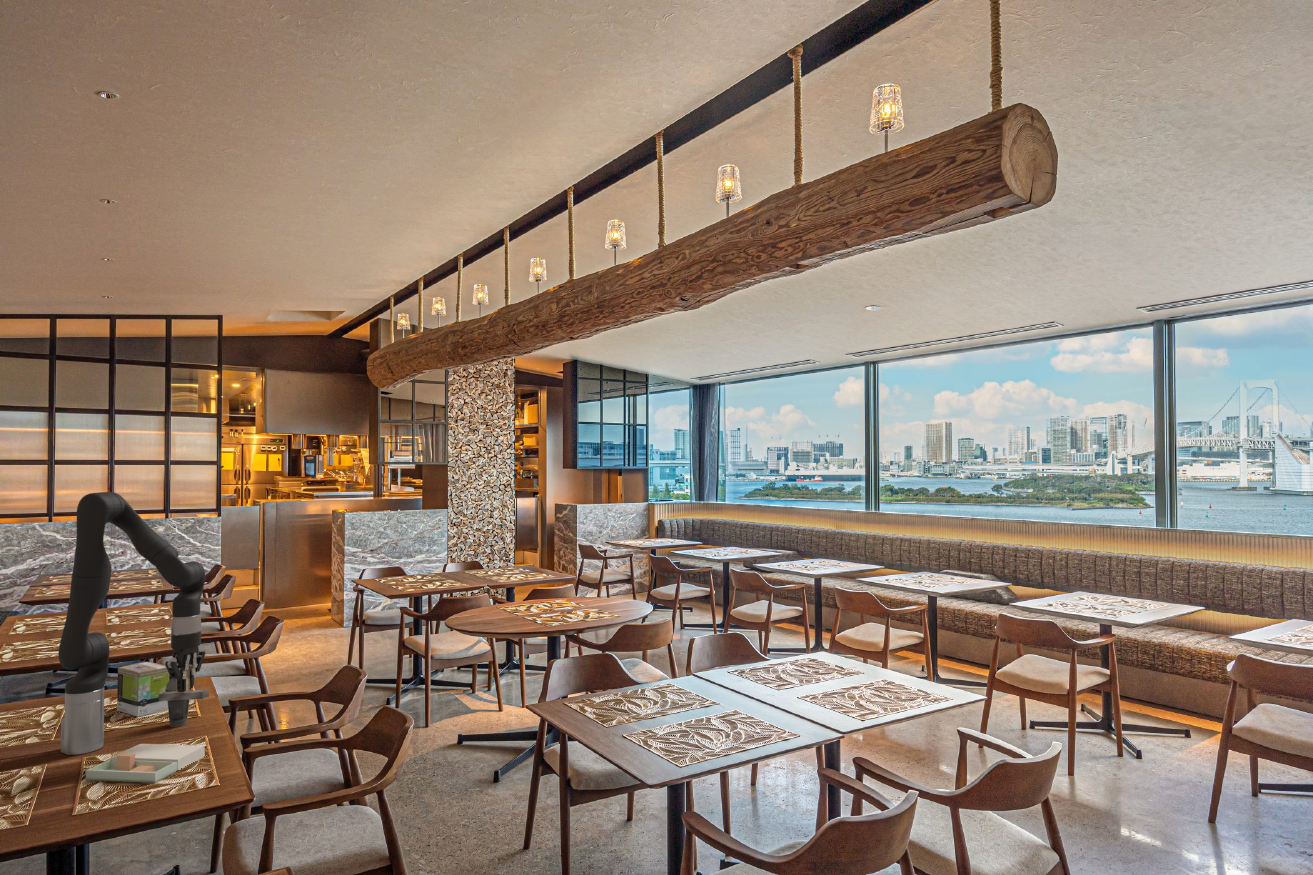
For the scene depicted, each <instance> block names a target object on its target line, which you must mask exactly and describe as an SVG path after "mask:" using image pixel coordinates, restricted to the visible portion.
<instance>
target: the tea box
mask: <svg viewBox="0 0 1313 875" xmlns="http://www.w3.org/2000/svg"><path fill="white" fill-rule="evenodd" d="M169 680H170V675H169V672H168V670H167V668H166V666H165V665H164V664H160V663H155V662H150V661H144V662H139V663H135V664H130V665H129V664H128V665H125V666H120V667H118V668H117V688H116V691H117V692H116V693H117V696H116V697H117V698H116V710H117V711H118V712H122V713H125V714H129V715H131V716H133V717H137V718H138V717H139V718H140V717H143V716H148V715H151V714H155V713H156V714H157V713H159V712H163V711H167V710H168V701H159V694H161V693H163V692H166V691H165V690H166V686H167V683H168V682H169Z"/></svg>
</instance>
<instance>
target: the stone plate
mask: <svg viewBox="0 0 1313 875" xmlns="http://www.w3.org/2000/svg"><path fill="white" fill-rule="evenodd" d="M205 751H206V748H205V745H194V744H193V745H192V744H191V745H187V744H160V743H140V744H137V745H134V746H132V747H130V748H128V749H126V750H124V751H122V752H120V753H117V754H114V755H112V756H110V759H116V756H117V755H119V754H122V753H128V754H135V760H145V761H172V762H177V770H179V771H180V770H182V769H184V768H186V767H188V766H190V765H191V763H192V764H193V762H194V763H196V762H197V761H199V760H201V759H203V758H205V753H206V752H205ZM195 761H196V762H195ZM189 764H190V765H189ZM187 765H188V766H187ZM185 766H186V767H185ZM181 768H182V769H181Z"/></svg>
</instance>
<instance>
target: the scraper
mask: <svg viewBox="0 0 1313 875" xmlns="http://www.w3.org/2000/svg"><path fill="white" fill-rule="evenodd" d="M180 668H184V667H180ZM180 673H181V675H182V671H180ZM185 679H186V691H185V692H178V690H177V679H176V691H170V692H163V693H161V694H159V701H172V700H189V701H190V700H191V701H192V700H203V699H206V698H209V694H210V693H209V689H196V690H195V689H194V690H192V689H190V668H189V667H188V670H187V671H186V678H185Z"/></svg>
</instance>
